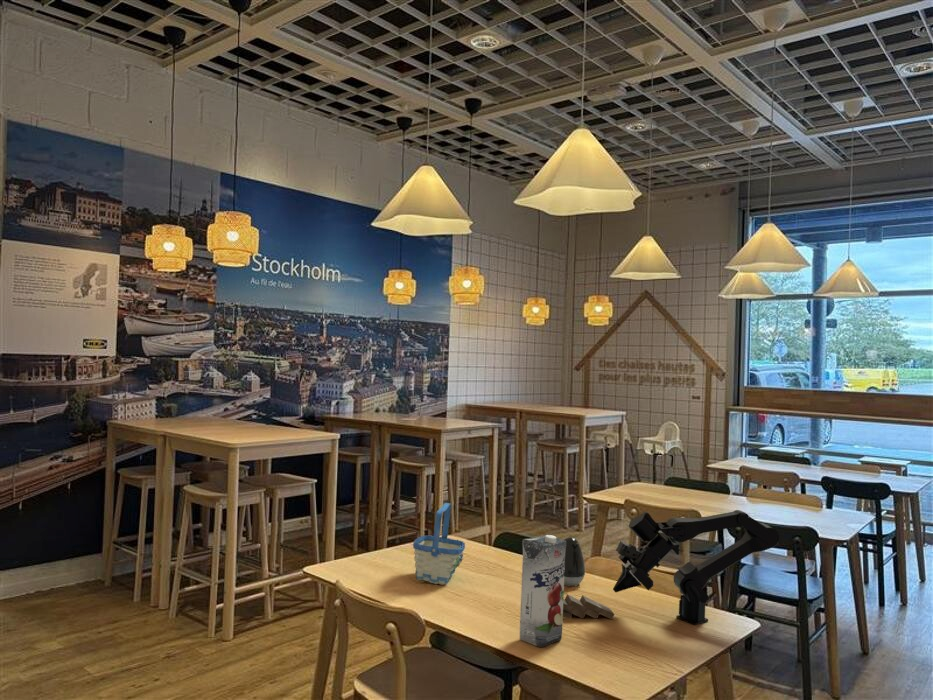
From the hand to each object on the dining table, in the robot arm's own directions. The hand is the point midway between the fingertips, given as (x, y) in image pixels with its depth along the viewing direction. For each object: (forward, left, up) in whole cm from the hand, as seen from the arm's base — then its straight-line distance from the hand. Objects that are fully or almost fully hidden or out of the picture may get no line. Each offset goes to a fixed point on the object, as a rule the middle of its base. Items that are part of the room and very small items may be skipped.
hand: (614, 590), depth 199 cm
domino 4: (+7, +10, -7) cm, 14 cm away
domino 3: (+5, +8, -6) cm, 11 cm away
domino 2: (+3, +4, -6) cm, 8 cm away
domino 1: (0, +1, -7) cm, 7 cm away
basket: (+54, +24, -8) cm, 60 cm away
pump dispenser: (+29, -11, -7) cm, 32 cm away
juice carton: (-3, +30, -7) cm, 31 cm away
